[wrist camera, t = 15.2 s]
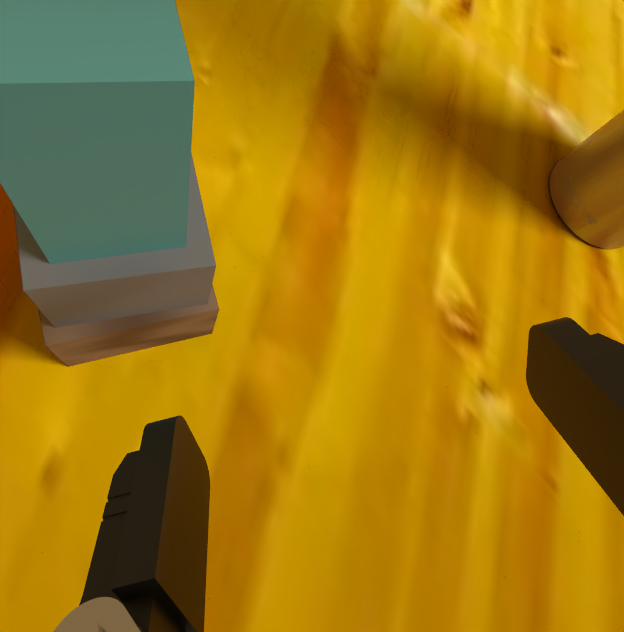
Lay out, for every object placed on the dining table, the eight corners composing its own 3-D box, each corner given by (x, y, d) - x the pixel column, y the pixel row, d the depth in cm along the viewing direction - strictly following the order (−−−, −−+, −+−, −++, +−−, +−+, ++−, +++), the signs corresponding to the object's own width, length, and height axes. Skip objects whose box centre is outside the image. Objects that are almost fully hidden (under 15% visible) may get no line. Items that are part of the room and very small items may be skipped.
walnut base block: (180, 217, 30) (181, 173, 26) (211, 334, 29) (219, 308, 24) (42, 236, 28) (16, 191, 23) (68, 367, 26) (45, 346, 21)
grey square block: (182, 183, 25) (184, 121, 21) (207, 304, 24) (215, 265, 19) (37, 193, 23) (4, 126, 19) (55, 327, 22) (23, 290, 17)
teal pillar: (162, 141, 20) (154, -81, 12) (186, 246, 19) (194, 80, 11) (33, 148, 19) (-79, -103, 10) (50, 264, 18) (-61, 84, 9)
